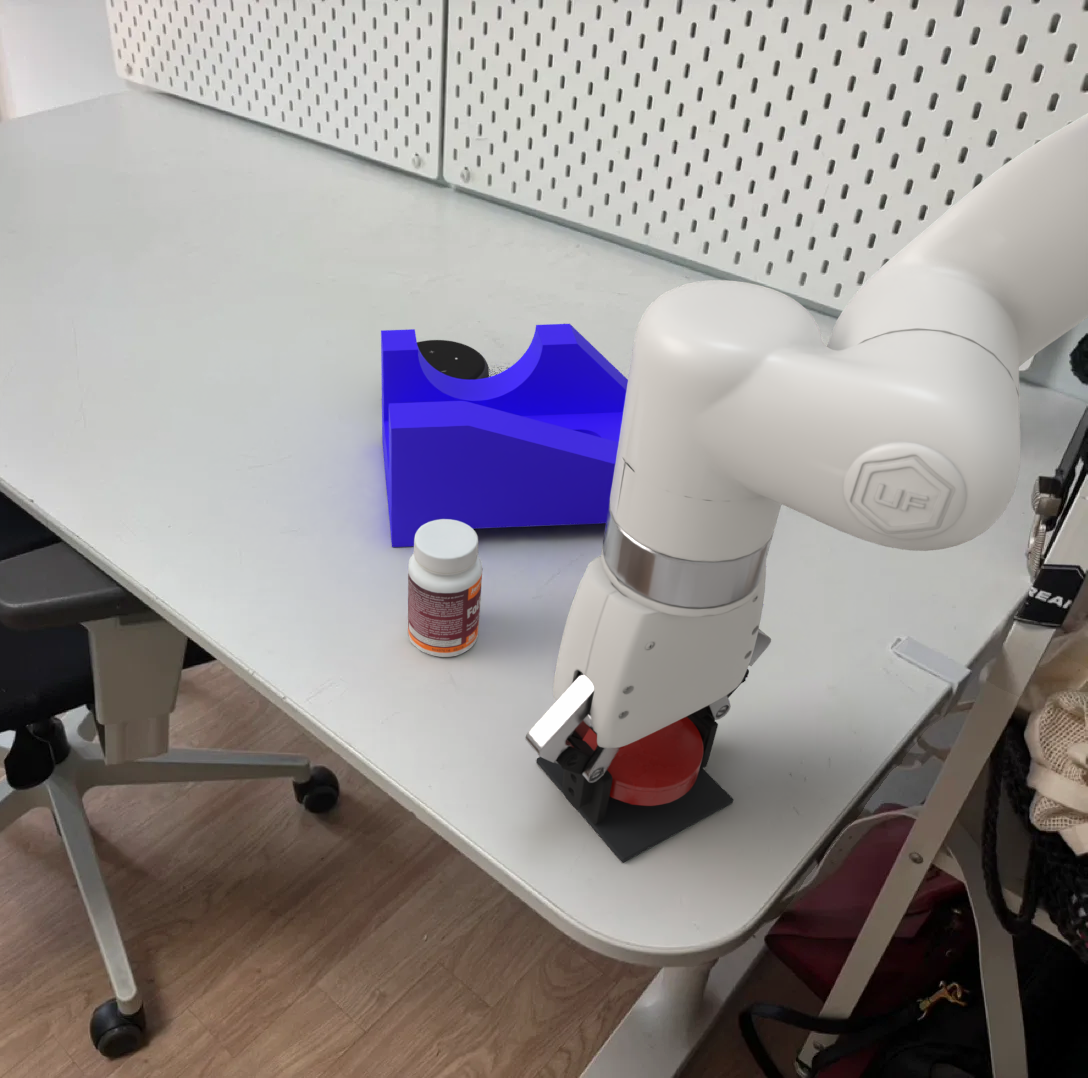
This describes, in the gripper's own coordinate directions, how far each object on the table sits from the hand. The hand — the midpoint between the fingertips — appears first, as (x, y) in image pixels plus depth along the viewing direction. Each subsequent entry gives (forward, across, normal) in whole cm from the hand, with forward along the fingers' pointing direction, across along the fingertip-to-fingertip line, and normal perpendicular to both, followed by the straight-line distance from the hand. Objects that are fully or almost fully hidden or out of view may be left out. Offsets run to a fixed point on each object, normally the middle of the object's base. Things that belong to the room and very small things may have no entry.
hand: (634, 776), depth 63 cm
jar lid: (-3, 0, 0) cm, 3 cm away
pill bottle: (+1, +3, -16) cm, 16 cm away
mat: (+1, 0, 0) cm, 1 cm away
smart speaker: (+1, -12, -41) cm, 43 cm away
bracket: (+1, -11, -27) cm, 29 cm away
